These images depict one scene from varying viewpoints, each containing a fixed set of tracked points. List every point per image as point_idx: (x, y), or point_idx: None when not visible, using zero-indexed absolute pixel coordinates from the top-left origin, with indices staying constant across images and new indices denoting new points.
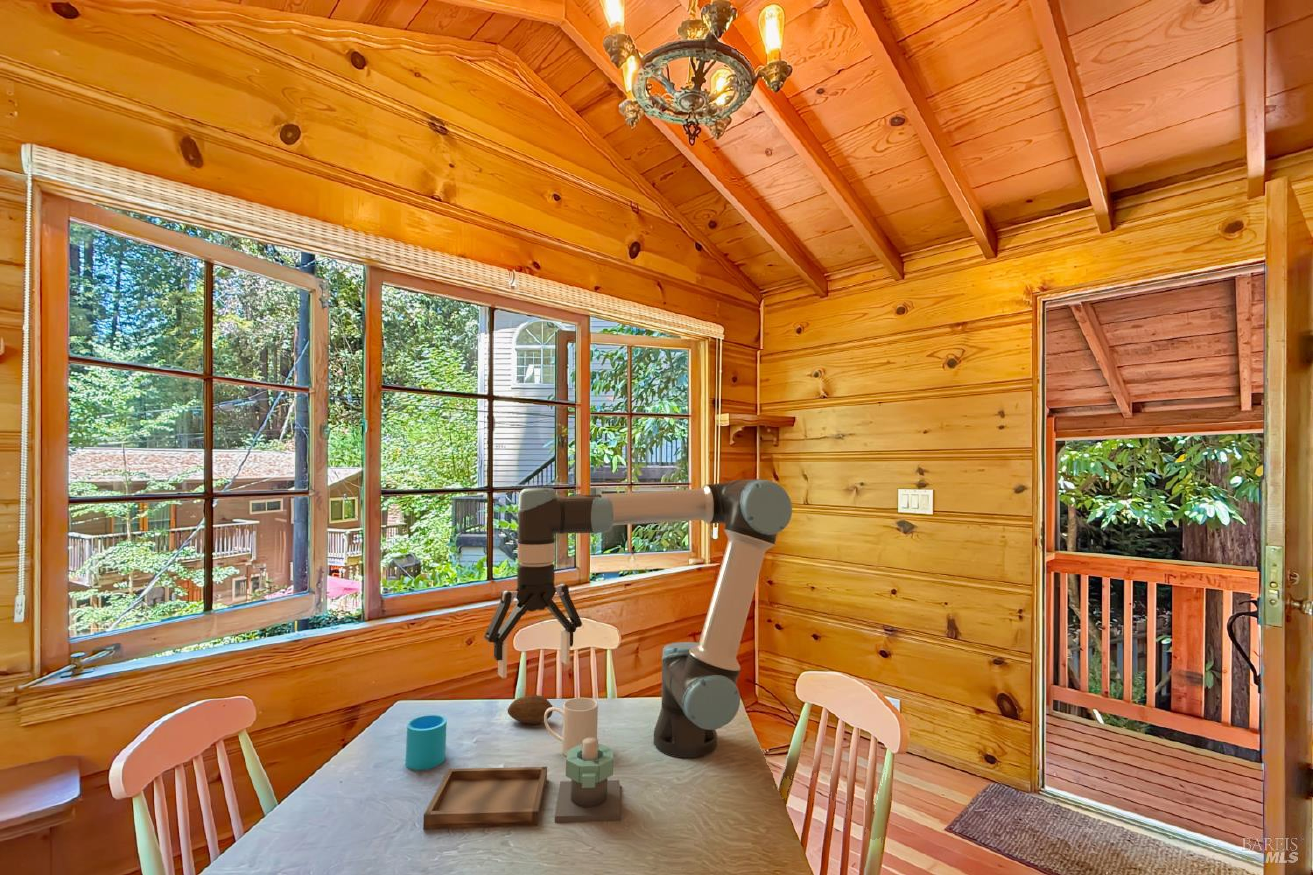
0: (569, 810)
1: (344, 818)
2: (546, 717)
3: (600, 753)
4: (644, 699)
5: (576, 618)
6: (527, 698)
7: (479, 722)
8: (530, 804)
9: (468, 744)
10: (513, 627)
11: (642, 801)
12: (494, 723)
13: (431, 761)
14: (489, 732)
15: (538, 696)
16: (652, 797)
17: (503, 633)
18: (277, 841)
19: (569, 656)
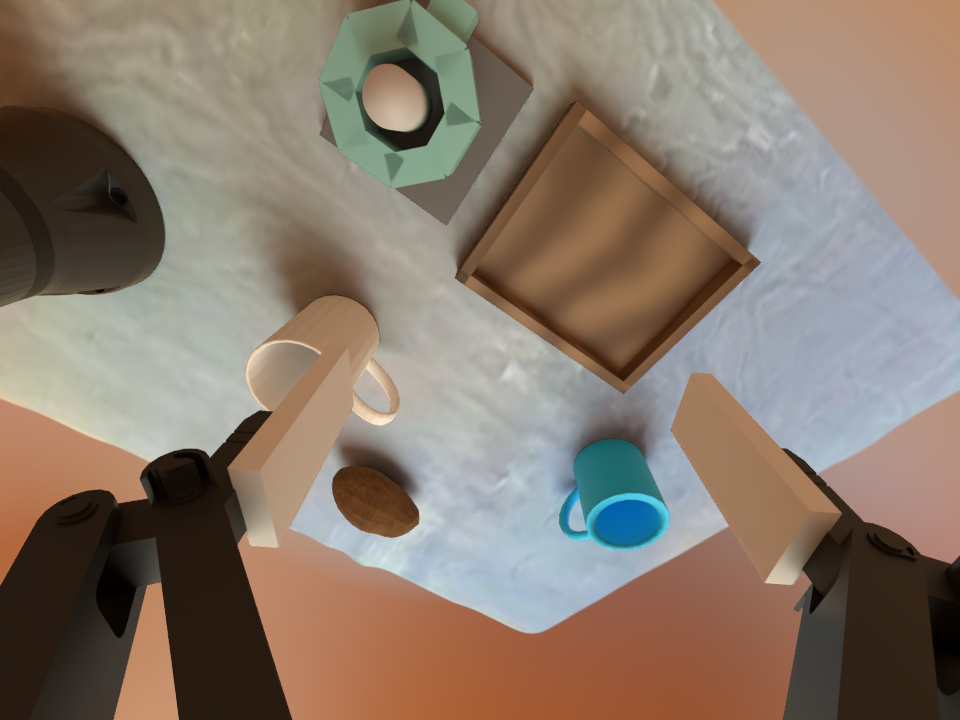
0: (492, 87)
1: (812, 375)
2: (392, 408)
3: (361, 105)
4: (110, 439)
5: (53, 572)
6: (378, 522)
7: (465, 528)
8: (547, 182)
9: (519, 473)
10: (845, 643)
11: (304, 16)
12: (443, 512)
13: (617, 446)
14: (466, 490)
15: (353, 516)
16: (271, 15)
17: (914, 603)
18: (921, 374)
19: (312, 364)
